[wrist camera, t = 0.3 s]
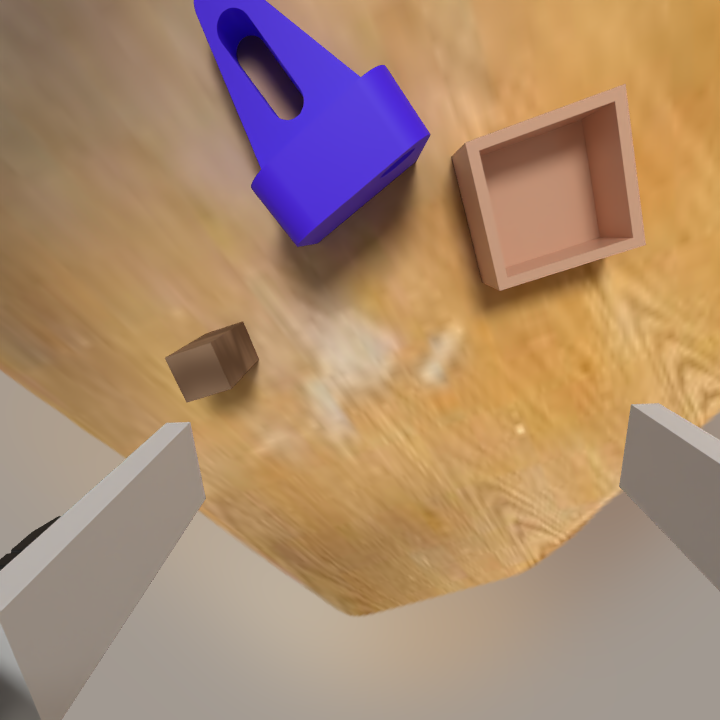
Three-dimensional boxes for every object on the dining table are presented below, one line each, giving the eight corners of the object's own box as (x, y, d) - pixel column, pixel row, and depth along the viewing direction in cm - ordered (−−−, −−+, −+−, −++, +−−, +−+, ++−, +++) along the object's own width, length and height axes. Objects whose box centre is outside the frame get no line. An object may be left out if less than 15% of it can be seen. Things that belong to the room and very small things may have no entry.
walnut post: (205, 333, 40) (164, 357, 32) (242, 321, 39) (210, 342, 31) (222, 370, 41) (186, 402, 33) (258, 359, 40) (231, 388, 32)
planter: (451, 156, 34) (465, 142, 29) (585, 107, 33) (625, 83, 27) (482, 282, 37) (499, 290, 32) (606, 242, 36) (645, 244, 30)
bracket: (416, 161, 34) (435, 126, 23) (317, 243, 37) (291, 247, 25) (276, -46, 31) (217, -208, 19) (176, 61, 33) (72, -29, 22)
